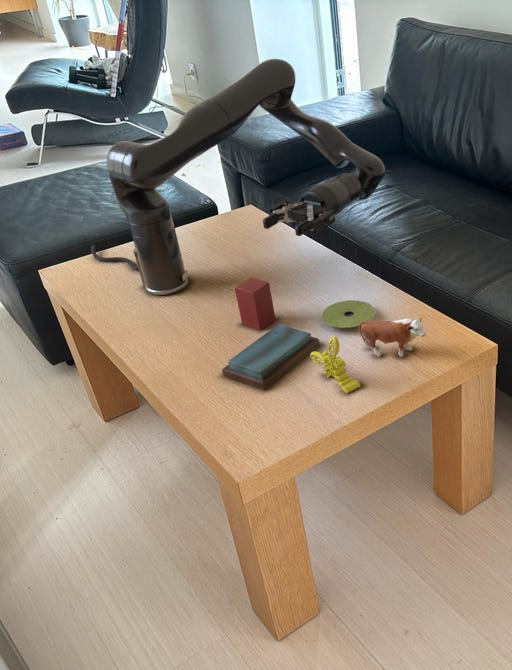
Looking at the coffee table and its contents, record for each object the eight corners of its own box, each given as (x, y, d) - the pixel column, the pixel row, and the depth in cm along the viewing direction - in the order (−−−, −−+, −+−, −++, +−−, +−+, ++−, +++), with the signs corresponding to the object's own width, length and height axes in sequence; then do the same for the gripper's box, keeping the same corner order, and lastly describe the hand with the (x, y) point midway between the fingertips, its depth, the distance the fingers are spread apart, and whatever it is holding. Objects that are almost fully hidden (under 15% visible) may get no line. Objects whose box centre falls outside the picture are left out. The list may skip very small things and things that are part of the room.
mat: (347, 341, 148) (346, 333, 147) (311, 322, 154) (310, 314, 153) (387, 319, 155) (386, 311, 154) (351, 302, 161) (350, 294, 160)
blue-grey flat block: (223, 376, 139) (220, 362, 137) (280, 333, 151) (278, 320, 150) (264, 390, 135) (261, 376, 133) (319, 345, 147) (317, 331, 145)
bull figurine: (426, 362, 141) (424, 326, 136) (358, 356, 143) (355, 320, 139) (430, 349, 145) (429, 314, 140) (365, 343, 147) (361, 308, 142)
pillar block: (242, 325, 155) (234, 287, 150) (257, 314, 158) (250, 277, 153) (260, 330, 152) (253, 292, 147) (275, 319, 156) (269, 282, 151)
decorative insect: (330, 402, 140) (306, 355, 140) (344, 395, 142) (320, 348, 142) (356, 387, 129) (330, 337, 129) (371, 380, 131) (345, 330, 131)
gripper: (353, 221, 164) (309, 250, 153) (302, 211, 170) (257, 238, 159) (350, 189, 160) (305, 217, 148) (298, 179, 166) (251, 205, 154)
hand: (280, 228), depth 154 cm, fingers open, 8 cm apart
